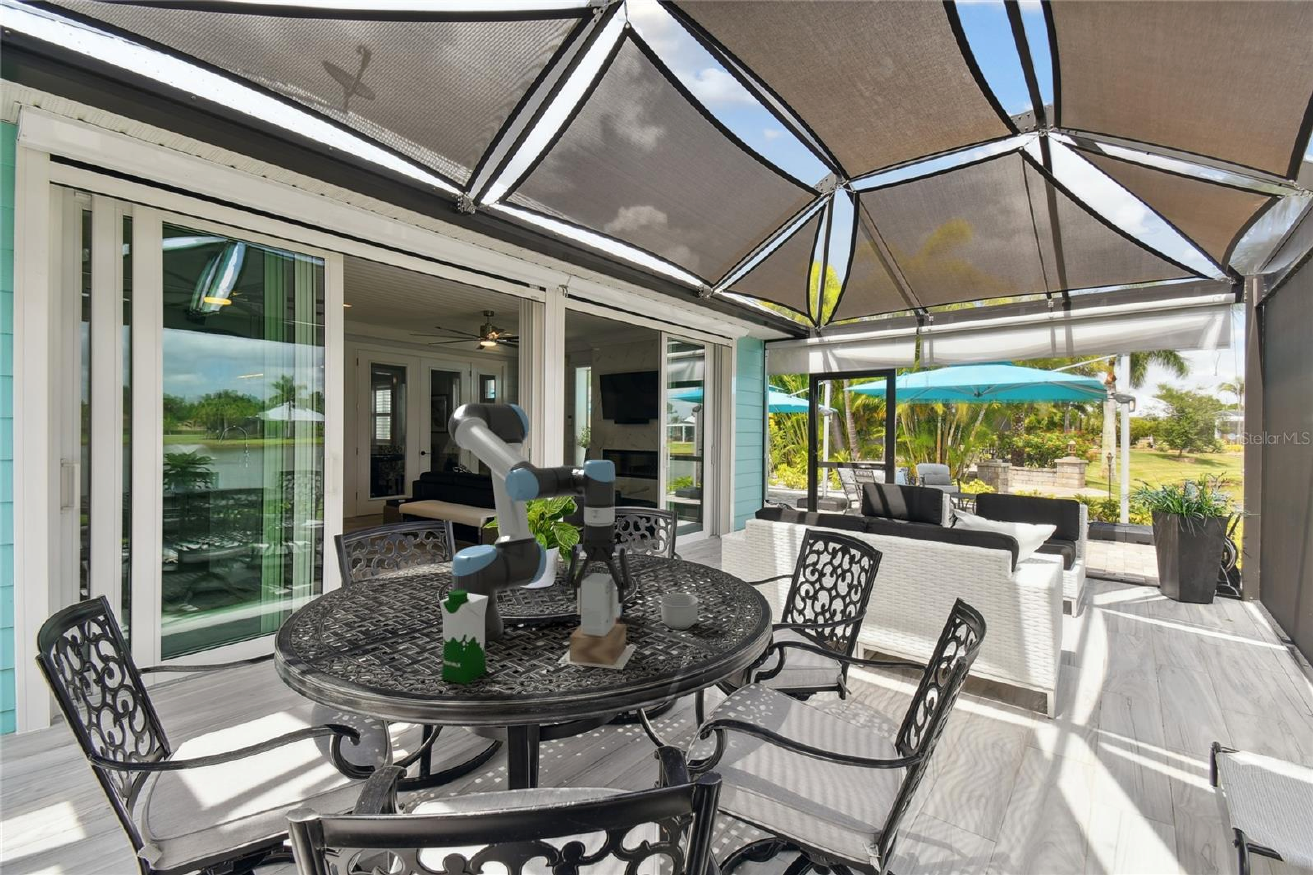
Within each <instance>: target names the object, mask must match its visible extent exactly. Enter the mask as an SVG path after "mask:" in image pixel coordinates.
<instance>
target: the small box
mask: <svg viewBox="0 0 1313 875" xmlns="http://www.w3.org/2000/svg"><path fill="white" fill-rule="evenodd" d="M580 586H581V614H580V625H581V634H585V635H594V636H603V637H605V636H606V635H607V634H608V633H609V632H610V630H611V629H612V628H613V627H614V626H615V618H614V602H615V590H616V584H615V582H614V580H613V578H612V576H611V573H609V574H608V573H598V572H596V573H595V572H593V573H591V574H590V575H588V576H587V577H586V578H585V577H584V578H583V580H582V581H581V584H580Z"/></svg>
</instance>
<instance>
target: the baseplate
mask: <svg viewBox="0 0 1313 875" xmlns="http://www.w3.org/2000/svg"><path fill="white" fill-rule="evenodd" d="M637 647H638V646H637V645H635V644H633V643H631V644H629V645H627V644H626V648H625V650H624V651H623V653H622V654H621V656H620V657H619V659H618V660H617V662H616V663H615V664H614V665H604V664H594V663H584V662H574V661H570V649H568V651H567V652H565V654H564V655H563V656H561V657H560V659H559V660H558V662H557V664H566V665H575V666H587V667H595V668H596V667H597V668H604V669H614V670H615V669H616V670H623V669H624V668H625V667H626V664H627V663H628V661H629V660H630V658H631V656H632V655H633V654H634V652H635V651H636V649H637Z"/></svg>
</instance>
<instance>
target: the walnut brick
mask: <svg viewBox="0 0 1313 875" xmlns="http://www.w3.org/2000/svg"><path fill="white" fill-rule="evenodd" d="M626 645H627V624H626V623H617V622H616V623H615V626H614V627H613V628H612V629H611V630H610V632H609V633H608V634H607V635H606V636H605V637H603V636H594V635H585V634H581V624H580V625H579V626H578V627H577V628H576V629H575V631H573V632H572V633H571V634H570V635H569V650H570V661H574V662H584V663H594V664H604V665H614V664H615V663H616V662H617V660H618V659H619V657H620V656H621V654H622V653H623V651H624V650H625V648H626Z"/></svg>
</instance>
